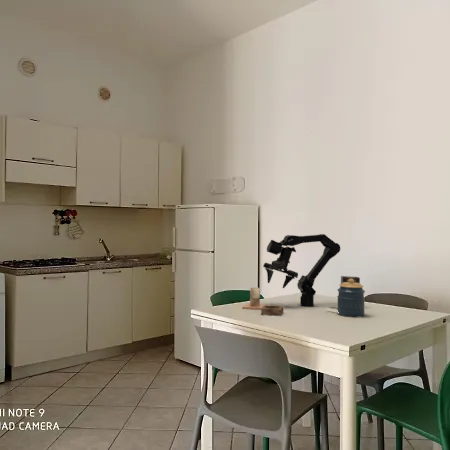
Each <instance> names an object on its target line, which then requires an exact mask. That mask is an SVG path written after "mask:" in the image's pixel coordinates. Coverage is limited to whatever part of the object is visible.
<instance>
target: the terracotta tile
mask: <svg viewBox="0 0 450 450" xmlns="http://www.w3.org/2000/svg"><path fill="white" fill-rule="evenodd" d="M264 305H267V303H266V304H265V303H260V306H257V307H254V306H250V302H249V303H245V304H244V305H242V307H241V309H242V310H254V311H256V310H257V311H261V308H262V307H263V306H264Z"/></svg>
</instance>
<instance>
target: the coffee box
mask: <svg viewBox="0 0 450 450" xmlns="http://www.w3.org/2000/svg"><path fill="white" fill-rule="evenodd" d="M349 279H353V280H354V283H360V282H361V281H360V280H361V278H360V277H358V276H347V275H346V276H344V275H341V276H340V284H342V283H343V282H349ZM360 284H361V283H360Z"/></svg>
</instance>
